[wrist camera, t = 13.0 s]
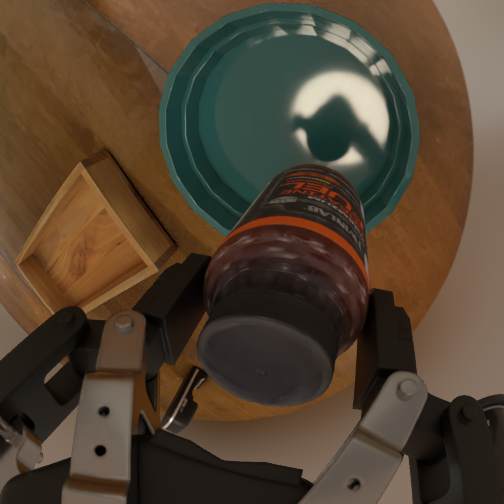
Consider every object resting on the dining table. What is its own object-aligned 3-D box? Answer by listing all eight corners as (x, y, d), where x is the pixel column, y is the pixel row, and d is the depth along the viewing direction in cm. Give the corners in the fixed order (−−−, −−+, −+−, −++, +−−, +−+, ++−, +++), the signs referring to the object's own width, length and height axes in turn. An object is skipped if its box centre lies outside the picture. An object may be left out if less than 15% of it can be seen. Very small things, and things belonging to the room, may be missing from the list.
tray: (109, 148, 33) (76, 162, 28) (180, 247, 37) (157, 273, 32) (34, 247, 48) (13, 262, 43) (80, 308, 52) (63, 327, 47)
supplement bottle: (377, 179, 15) (416, 333, 6) (344, 267, 19) (325, 438, 9) (271, 147, 16) (163, 254, 7) (252, 239, 19) (168, 387, 10)
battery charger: (201, 389, 54) (177, 438, 44) (183, 379, 54) (157, 427, 44) (213, 375, 50) (188, 429, 40) (194, 364, 50) (166, 417, 40)
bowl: (414, 38, 19) (432, 27, 14) (380, 240, 30) (386, 273, 25) (192, 21, 23) (160, 12, 18) (192, 208, 34) (166, 233, 29)
